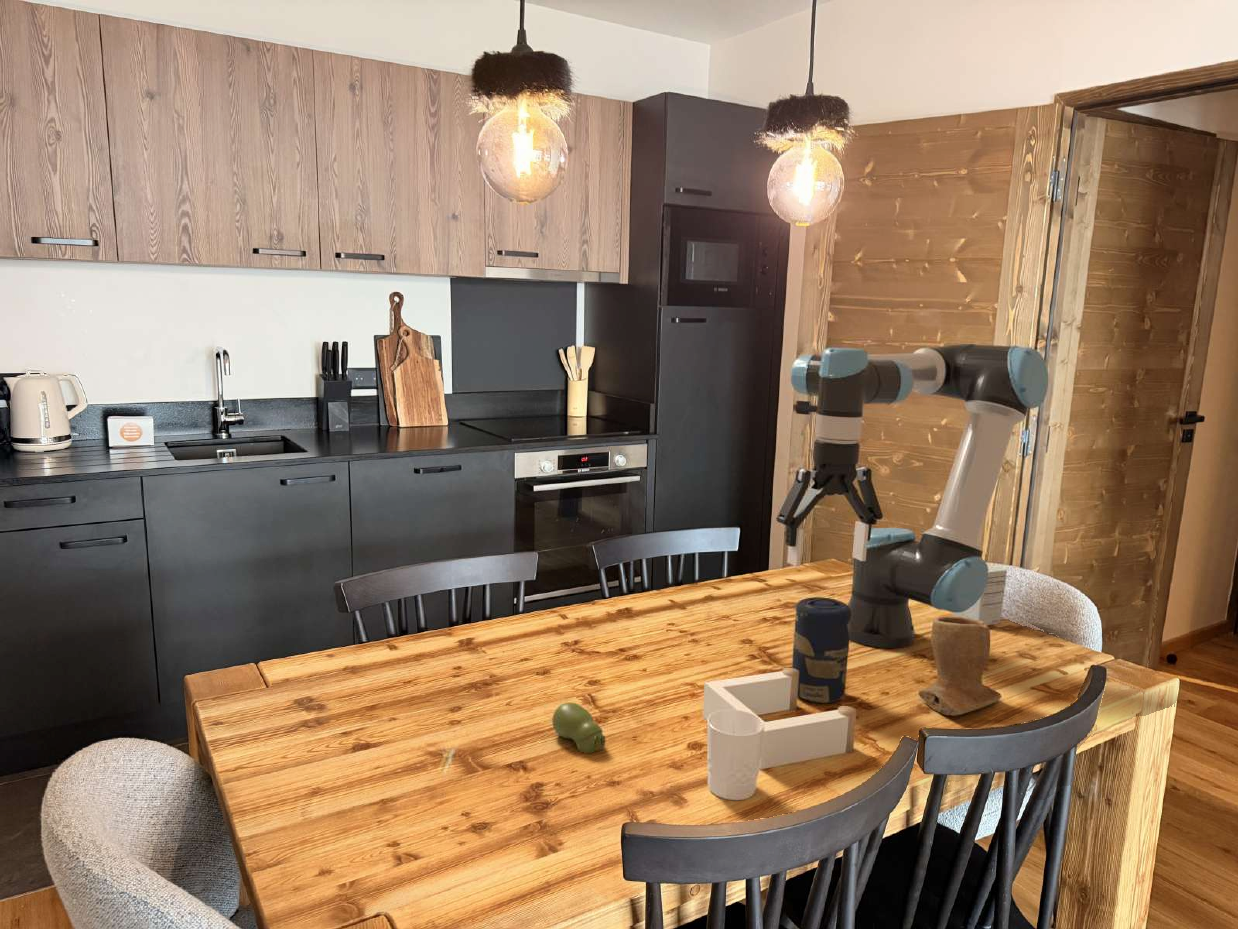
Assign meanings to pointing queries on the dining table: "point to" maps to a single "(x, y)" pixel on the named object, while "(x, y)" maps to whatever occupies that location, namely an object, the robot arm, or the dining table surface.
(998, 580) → the supplement box
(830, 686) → the canister
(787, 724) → the bracket
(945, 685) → the stone cup
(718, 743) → the white cup
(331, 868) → the dining table surface
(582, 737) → the pear
